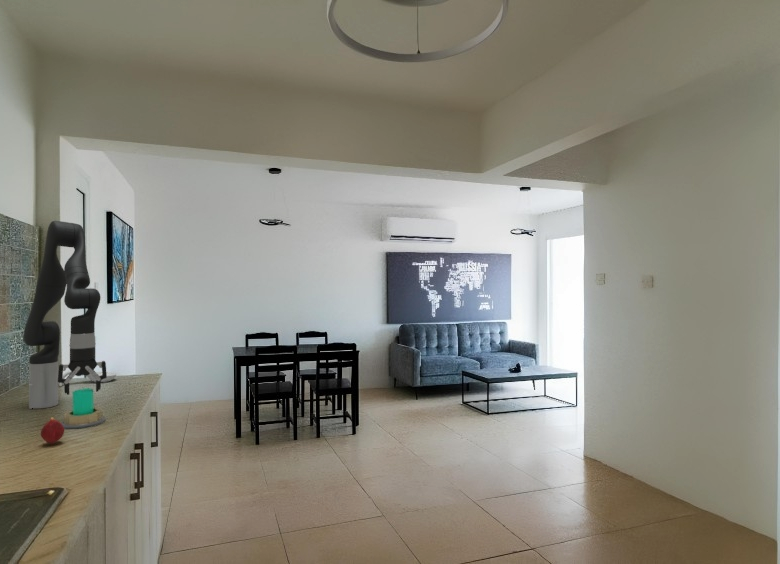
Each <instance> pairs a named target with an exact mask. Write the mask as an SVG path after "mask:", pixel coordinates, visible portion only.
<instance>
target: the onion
mask: <svg viewBox="0 0 780 564" xmlns="http://www.w3.org/2000/svg"><path fill="white" fill-rule="evenodd" d="M61 423H62V422H60V421H58V420H56V419H55V418H54V417H52V416H51V418H50V419H49V421H48V422H47V423H45V424H44V425H43V427H42V429H40V437H41V439H43V441H45V442H46V443H48V444H50V445H54V444H56V442H58V441H59V440H61V438H62V437H63V436H64V432H65V429H64V427H63V425H62V424H61Z"/></svg>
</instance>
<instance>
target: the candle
mask: <svg viewBox="0 0 780 564" xmlns="http://www.w3.org/2000/svg"><path fill="white" fill-rule="evenodd" d="M93 408H94V389H92V388H79V389H77V390H73V391H72V410H73V415H83V414H89V413H93Z"/></svg>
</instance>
